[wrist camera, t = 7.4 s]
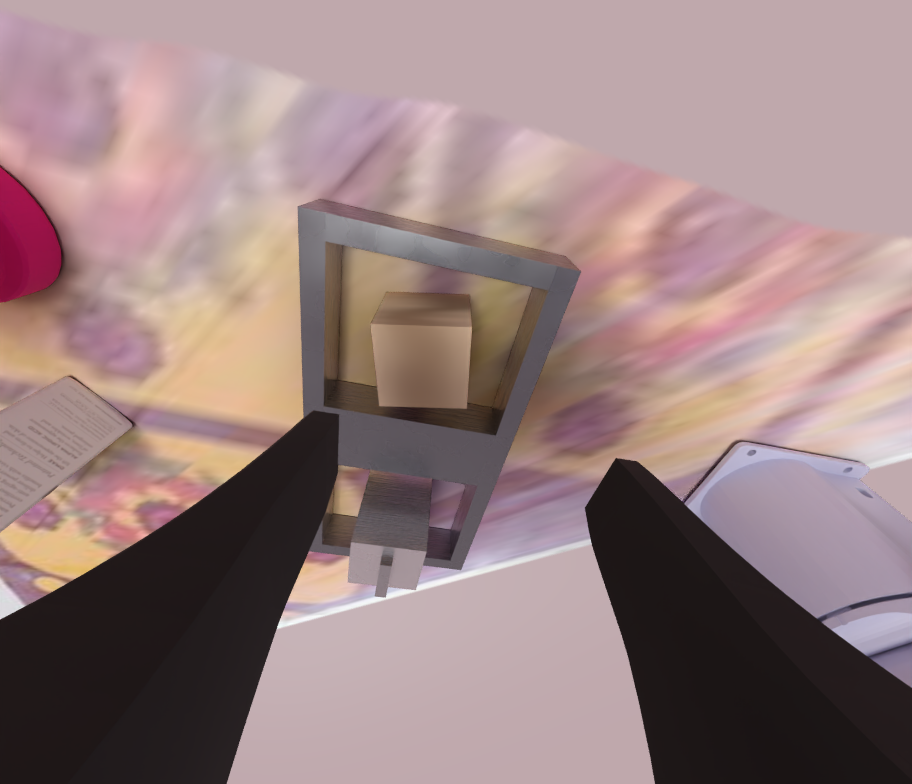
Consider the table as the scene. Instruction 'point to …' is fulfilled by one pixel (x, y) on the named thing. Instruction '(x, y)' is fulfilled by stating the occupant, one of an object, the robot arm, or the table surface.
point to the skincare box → (51, 442)
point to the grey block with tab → (391, 532)
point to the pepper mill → (24, 243)
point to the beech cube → (422, 349)
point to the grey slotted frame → (420, 428)
